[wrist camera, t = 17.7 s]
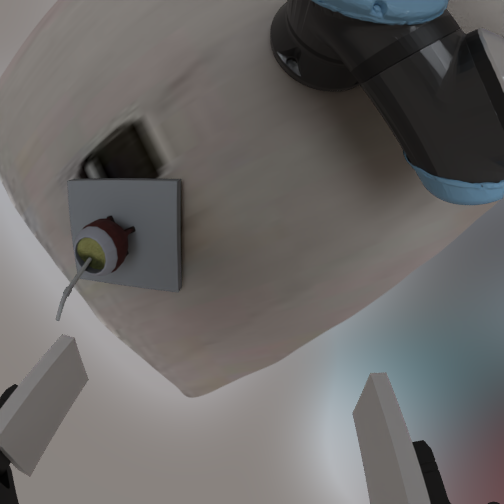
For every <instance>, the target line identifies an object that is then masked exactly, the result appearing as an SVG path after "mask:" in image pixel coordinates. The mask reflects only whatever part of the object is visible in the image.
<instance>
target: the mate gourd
mask: <svg viewBox="0 0 504 504" xmlns="http://www.w3.org/2000/svg"><path fill="white" fill-rule="evenodd" d="M133 232H135V227H134V226H132V227H129V228H127V229H125V230H124V229H122V228H121V227H120V226H119V225H118V224H117V223H115V221H114V219H113V217H112V216H108V217H107V219H98V220H96V221H93V222H91V223H90V224H88V225H86V226H85V227H84V228H83V229H82V230H81V231H80V232H79V234H78V235H77V237H76V239H75V244H74V254H75V259H76V261H77V263H78V265H79V266H80V267H81V269H80V270H79V272H78V273H77V275H76V276H75V277H74V279H73V280H72V282H71V283H70V285H69V286H68V287H66V289H65V290H64V292H63V296H62V299H61V302H60V305H59V309H58V313H57V317H56V320H57V321H59V320H60V316H61V313H62V309H63V306H64V303H65V301H66V298H67V296H69V294H70V293H71V291H72V288H73V287H74V285H75V284H76V282H77V281H78V279H79V278H80V276H81V275H82V274H83V272H84V271H85V272H87V273H89V274H90V275H95V276H105V275H108V274H110V273H112V272H114V271H116V270H117V269H118V268H119V267H120V265H121V264H122V263H123V262H124V260H125V258H126V256H127V255H128V254H129V252H128V235H129V234H131V233H133Z"/></svg>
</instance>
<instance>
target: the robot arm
mask: <svg viewBox="0 0 504 504" xmlns="http://www.w3.org/2000/svg"><path fill="white" fill-rule="evenodd" d="M448 1H449V0H287V2H286V3H285V4H284V5H283V6H282V7H281V8H280V9H279V10H278V12H277V13H276V15H275V17H274V19H273V22H272V25H271V46H272V50H273V53H274V55H275V58H276V59H277V61H278V63H279V64H280V66H281V67H282V68H283V69H284V70H285V71H286V72H287V73H288V74H289V75H290V76H291V77H293V78H294V79H295V80H297V81H299V82H300V83H302V84H304V85H306V86H309V87H311V88H314V89H318V90H323V91H344V90H349V89H352V88H354V87H357V86H359V85H361V87H362V88H363V89H364V91H365V92H366V94H367V95H368V96H369V98H370V99H371V101H372V102H373V103H374V105H375V106H376V108H377V109H378V111H379V112H380V114H381V115H382V117H383V118H384V120H385V121H386V123H387V124H388V126H389V127H390V129H391V131H392V132H393V134H394V135H395V137H396V139H397V140H398V142H399V144H400V145H401V147H402V149H403V154H404V156H405V159H406V160H407V162H408V163H409V164H410V165H411V166H412V168H413V169H414V170H415V171H416V173H417V175H418V176H419V178H420V180H421V182H422V183H423V185H424V186H425V188H426V189H427V190H429V191H430V192H431V193H432V194H433V195H434V196H436V197H437V198H439V199H441V200H443V201H446V202H449V203H453V204H459V205H480V204H487V203H491V202H495V201H497V200H500V199H502V198H503V195H504V37H502V36H500V35H498V34H496V33H493V32H491V31H489V30H487V29H484V28H479V29H477V30H475V31H472V32H470V33H468V34H465V33H464V32H463V31H462V29H460V27H459V25H458V24H457V22H456V21H455V20H454V18H453V17H452V16H451V14H450V13H449V11H448V10H447V9H446V8H447V5H448ZM369 78H370V79H369ZM87 381H88V377H87V374H86V371H85V368H84V366H83V363H82V360H81V357H80V354H79V351H78V348H77V344H76V341H75V338H74V337H70V336H67V335H63V334H62V335H61V336H60V337H59V339H58V340H57V341H56V342H55V343H54V344H53V345H52V346H51V348H50V349H49V350H48V351H47V352H46V353H45V354H44V356H43V357H42V358H41V359H40V360H39V362H38V363H37V364H36V365H35V366H34V367H33V369H32V370H31V371H30V372H29V374H28V375H27V376H26V377H25V378H24V379H23V381H22V382H21V383H20V384H19V386H18V385H16V384H14V385H13V386H11V387H10V388H8V389H6V391H5V392H4V393H3V394H2V396H1V397H0V504H19V503H18V499H17V495H16V490H15V486H14V481H13V476H12V471H11V468H10V466H9V464H10V463H12V464H13V465H14V466H15V467H16V468H17V469H18V470H20V471H21V472H23V473H25V474H26V475H28V476H31V474H32V473H33V471H34V469H35V467H36V465H37V463H38V462H39V460H40V457H41V456H42V455H43V453H44V451H45V449H46V447H47V446H48V444H49V442H50V441H51V439H52V437H53V436H54V434H55V432H56V431H57V429H58V427H59V425H60V424H61V422H62V421H63V419H64V417H65V416H66V414H67V412H68V411H69V409H70V408H71V406H72V404H73V403H74V401H75V399H76V398H77V396H78V395H79V393H80V392H81V390H82V389H83V387H84V386H85V384H86V382H87ZM353 418H354V422H355V427H356V431H357V436H358V441H359V446H360V450H361V455H362V461H363V466H364V471H365V476H366V482H367V487H368V493H369V498H370V504H451V503H450V502H449V500H448V497H447V494H446V491H445V488H444V485H443V481H442V478H441V475H440V472H439V470H438V466H437V464H436V462H435V458H434V455H433V452H432V450H431V448H430V447H429V446H428V445H427V444H426V442H425V441H424V440H422V441H416V442H412V441H411V438H410V435H409V432H408V429H407V426H406V423H405V421H404V418H403V415H402V412H401V410H400V407H399V404H398V402H397V399H396V396H395V394H394V391H393V388H392V386H391V383H390V381H389V378H388V376H387V373H370V375H369V378H368V380H367V382H366V385H365V387H364V389H363V391H362V394H361V396H360V398H359V400H358V403H357V405H356V407H355V409H354V411H353ZM488 504H499V503H497V502H490V503H488Z"/></svg>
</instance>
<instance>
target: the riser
mask: <svg viewBox="0 0 504 504" xmlns="http://www.w3.org/2000/svg"><path fill="white" fill-rule="evenodd" d="M67 184H68V201H69V213H70V223H71V232H72V241H73V248H74V244H75V239H76V237H77V235H78V234H79V232H80V231H81V230H82V229H83V228H84V227H85V226H86V225H88V224H90V223H91V222H93V221H96V220H98V219H107V217H108V216H112V217H113V219H114V221H115V223H117V224H118V225H119V226H120V227H121V228H122V229H124V230H125V229H127V228H129V227H132V226H134V227H135V232H133V233H131V234H129V235H128V252H129V254H128V255H127V256H126V258H125V260H124V262H123V263H122V264H121V265H120V267H119V268H118V269H117V270H116V271H114V272H112V273H110V274H108V275H105V276H95V275H90V274H89V273H87V272H85V271H84V272H83V274H82V275H81V276H80V279H86V280H92V281H99V282H105V283H112V284H119V285H126V286H133V287H140V288H148V289H155V290H163V291H171V292H179V291H180V289H181V287H182V276H181V179H147V178H98V179H73V180H69V181H67ZM74 255H75V254H74ZM75 262H76V268H77V273H78V272H79V270H80V269H81V267H80V266H79V265H78V263H77V261H76V259H75Z"/></svg>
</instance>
